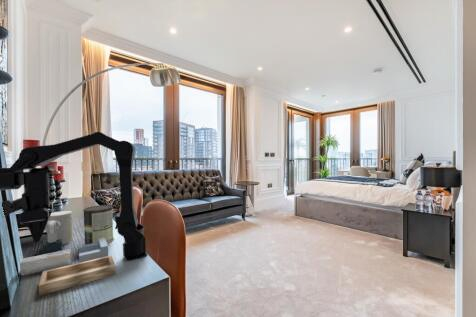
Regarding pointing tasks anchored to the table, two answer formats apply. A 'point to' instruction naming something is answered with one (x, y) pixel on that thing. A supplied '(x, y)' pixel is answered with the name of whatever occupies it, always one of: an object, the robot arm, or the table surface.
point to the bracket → (93, 250)
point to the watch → (52, 238)
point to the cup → (63, 225)
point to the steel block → (45, 261)
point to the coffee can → (98, 223)
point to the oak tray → (76, 274)
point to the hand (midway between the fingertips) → (38, 238)
